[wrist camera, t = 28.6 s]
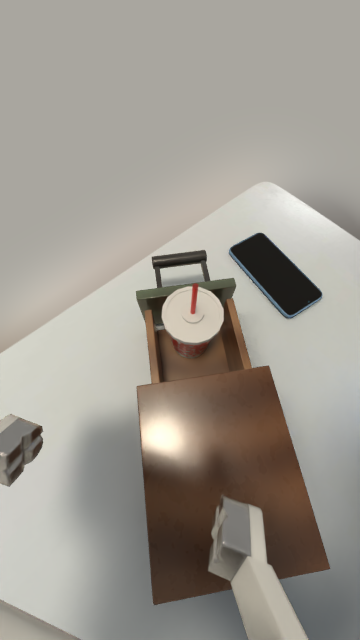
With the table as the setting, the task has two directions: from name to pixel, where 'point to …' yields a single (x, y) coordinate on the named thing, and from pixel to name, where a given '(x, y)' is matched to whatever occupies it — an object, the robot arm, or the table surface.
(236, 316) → the drawer
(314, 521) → the cabinet
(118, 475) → the table surface
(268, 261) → the smartphone
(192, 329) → the beverage cup
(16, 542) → the table surface
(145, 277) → the table surface
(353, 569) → the table surface
